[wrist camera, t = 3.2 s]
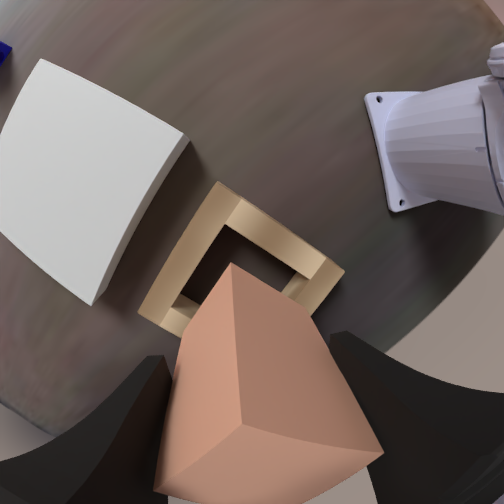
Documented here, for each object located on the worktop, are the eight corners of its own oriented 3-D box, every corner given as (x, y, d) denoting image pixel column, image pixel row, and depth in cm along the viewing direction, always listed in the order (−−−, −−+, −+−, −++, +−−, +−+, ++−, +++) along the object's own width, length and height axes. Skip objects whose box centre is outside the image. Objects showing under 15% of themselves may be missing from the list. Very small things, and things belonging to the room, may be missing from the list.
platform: (190, 139, 14) (183, 133, 12) (106, 289, 16) (91, 306, 14) (58, 68, 12) (40, 58, 9) (-2, 202, 14) (-22, 207, 11)
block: (305, 307, 12) (384, 452, 4) (254, 367, 13) (280, 513, 5) (230, 262, 11) (242, 423, 4) (183, 331, 12) (152, 490, 4)
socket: (331, 260, 17) (344, 271, 15) (255, 356, 19) (258, 375, 17) (217, 181, 15) (216, 182, 13) (146, 296, 17) (137, 312, 15)
